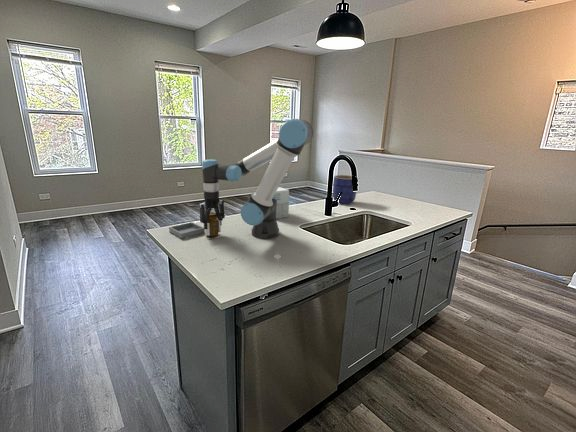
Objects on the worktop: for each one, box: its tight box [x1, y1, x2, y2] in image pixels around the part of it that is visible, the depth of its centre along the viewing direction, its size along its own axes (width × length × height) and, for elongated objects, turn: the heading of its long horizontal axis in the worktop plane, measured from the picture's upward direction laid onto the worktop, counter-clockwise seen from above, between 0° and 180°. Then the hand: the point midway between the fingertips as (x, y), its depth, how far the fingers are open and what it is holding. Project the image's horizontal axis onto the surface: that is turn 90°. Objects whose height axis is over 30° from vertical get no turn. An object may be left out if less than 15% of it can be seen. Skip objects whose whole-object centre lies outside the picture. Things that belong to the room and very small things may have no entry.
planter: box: [332, 174, 359, 205], centre depth 233 cm, size 18×18×21 cm
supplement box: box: [275, 186, 290, 220], centre depth 196 cm, size 17×13×18 cm
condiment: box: [204, 212, 222, 240], centre depth 156 cm, size 7×8×12 cm
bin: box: [168, 221, 206, 240], centre depth 161 cm, size 13×13×3 cm
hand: (213, 233), depth 158 cm, fingers closed on condiment, 6 cm apart
